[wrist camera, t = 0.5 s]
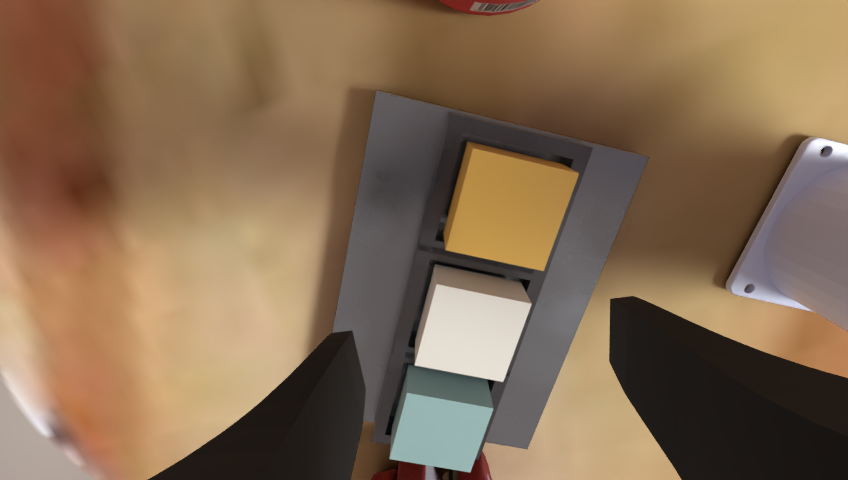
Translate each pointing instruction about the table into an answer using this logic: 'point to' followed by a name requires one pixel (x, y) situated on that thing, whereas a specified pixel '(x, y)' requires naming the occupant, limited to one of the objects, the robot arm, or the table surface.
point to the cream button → (470, 323)
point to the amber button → (507, 206)
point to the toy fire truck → (418, 476)
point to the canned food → (488, 6)
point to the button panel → (424, 247)
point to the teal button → (440, 419)
